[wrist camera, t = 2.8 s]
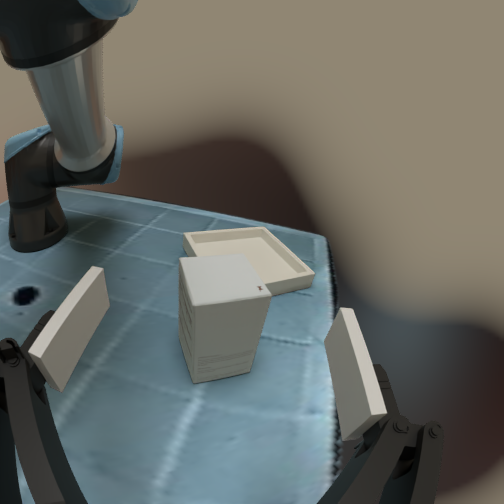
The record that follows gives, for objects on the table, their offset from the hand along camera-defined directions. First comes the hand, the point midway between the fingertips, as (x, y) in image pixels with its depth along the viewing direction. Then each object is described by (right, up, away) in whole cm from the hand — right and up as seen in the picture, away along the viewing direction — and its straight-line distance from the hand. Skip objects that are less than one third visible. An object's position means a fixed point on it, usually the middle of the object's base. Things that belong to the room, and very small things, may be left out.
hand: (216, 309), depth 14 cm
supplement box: (-3, -10, +18) cm, 21 cm away
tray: (0, 0, +36) cm, 36 cm away
